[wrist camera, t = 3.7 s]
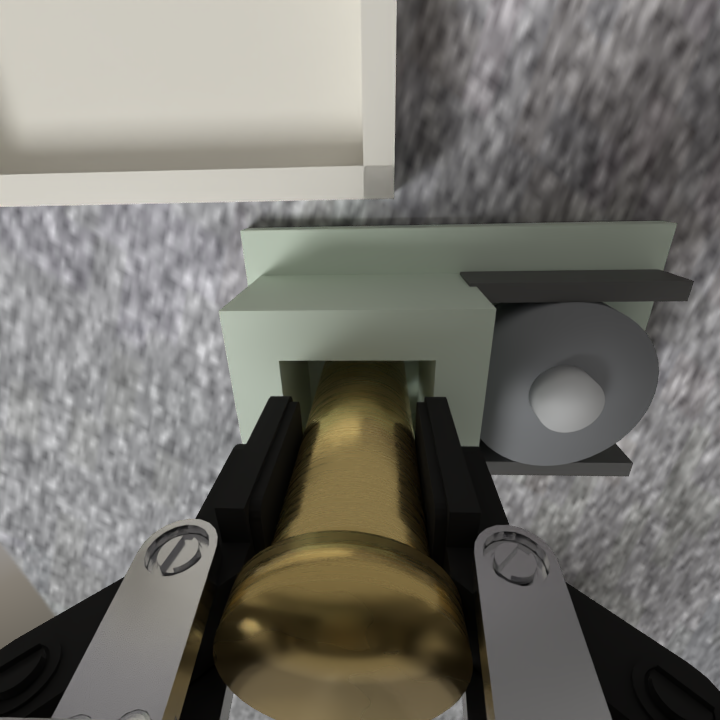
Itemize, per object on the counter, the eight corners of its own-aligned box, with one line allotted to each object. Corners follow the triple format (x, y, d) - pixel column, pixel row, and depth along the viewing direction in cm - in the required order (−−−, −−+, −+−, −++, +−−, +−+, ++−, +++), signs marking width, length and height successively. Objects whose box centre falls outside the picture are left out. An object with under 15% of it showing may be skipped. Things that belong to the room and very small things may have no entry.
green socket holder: (660, 220, 13) (799, 241, 9) (593, 460, 17) (664, 555, 13) (247, 227, 14) (187, 251, 10) (278, 457, 18) (246, 546, 14)
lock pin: (416, 318, 14) (487, 585, 5) (413, 409, 16) (460, 740, 7) (311, 319, 14) (188, 577, 5) (318, 408, 16) (234, 728, 7)
